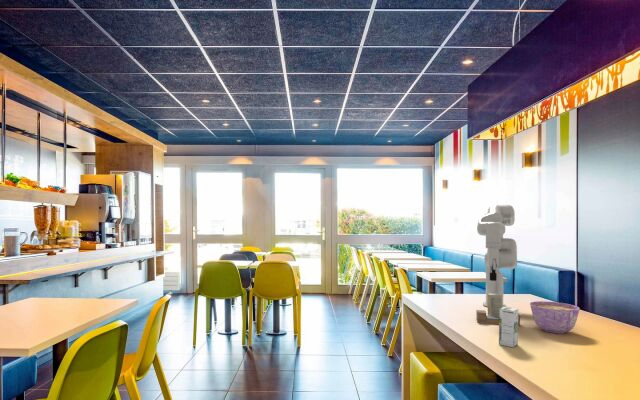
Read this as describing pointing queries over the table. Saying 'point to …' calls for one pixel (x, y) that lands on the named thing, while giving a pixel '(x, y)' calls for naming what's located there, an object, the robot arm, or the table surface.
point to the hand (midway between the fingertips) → (493, 280)
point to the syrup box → (508, 326)
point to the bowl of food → (554, 316)
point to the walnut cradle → (489, 318)
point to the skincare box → (494, 304)
